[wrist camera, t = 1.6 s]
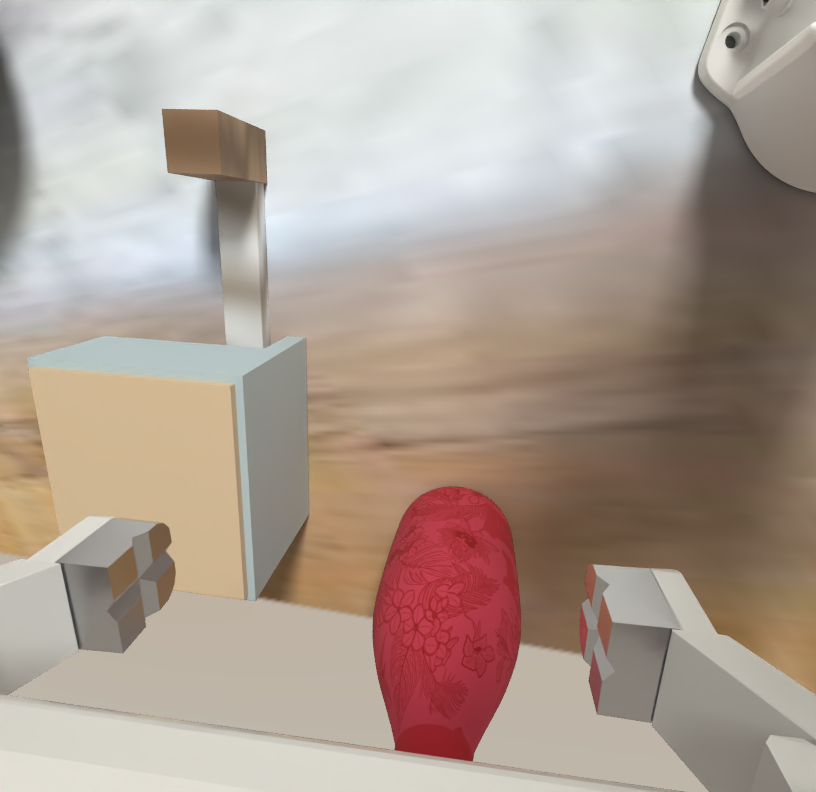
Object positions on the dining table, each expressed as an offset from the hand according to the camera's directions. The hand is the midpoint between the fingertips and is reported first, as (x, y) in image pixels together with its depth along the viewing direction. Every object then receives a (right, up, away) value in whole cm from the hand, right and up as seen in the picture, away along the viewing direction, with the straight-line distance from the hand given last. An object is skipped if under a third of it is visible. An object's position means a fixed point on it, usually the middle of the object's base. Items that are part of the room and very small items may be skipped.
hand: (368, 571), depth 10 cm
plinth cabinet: (-15, +1, +35) cm, 38 cm away
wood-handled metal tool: (-12, +14, +30) cm, 35 cm away
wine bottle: (+5, -8, +35) cm, 36 cm away
